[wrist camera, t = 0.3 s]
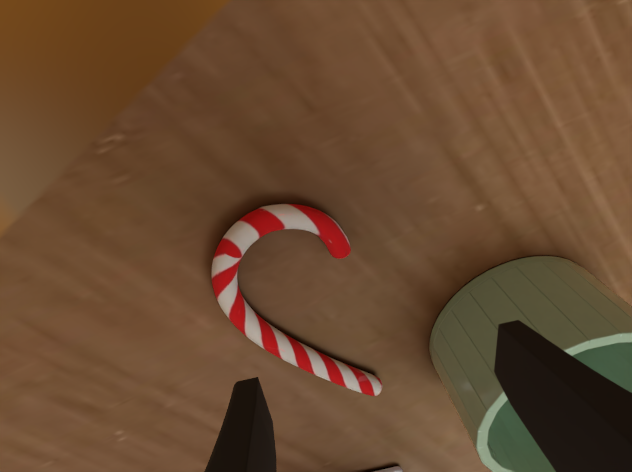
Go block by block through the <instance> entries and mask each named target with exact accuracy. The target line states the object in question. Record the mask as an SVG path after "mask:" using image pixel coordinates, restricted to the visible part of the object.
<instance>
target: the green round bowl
mask: <svg viewBox="0 0 632 472" xmlns="http://www.w3.org/2000/svg"><path fill="white" fill-rule="evenodd" d="M515 320H519V321H521V322H522V323H524V324H525V325H527V326H528V327H530V328H531V329H533V330H534V331H536V332H537V333H539V334H540V335H542V336H543V337H544V338H546V339H547V340H549V341H550V342H552V343H553V344H555V345H556V346H558V347H559V348H561V349H562V350H564V351H565V352H567V353H568V354H570V355H571V356H573V357H574V358H576V359H577V360H579V361H580V362H582V363H584V364H585V365H587V366H588V367H590V368H591V369H593V370H594V371H596V372H598V373H599V374H601V375H603V376H604V377H606V378H607V379H609V380H611V381H612V382H614V383H616V384H617V385H619V386H621V387H623V388H624V389H626V390H628V391H629V392H631V393H632V306H630V305H629V304H628V303H627V302H625V301H624V300H623V299H622V298H621V297H619V296H618V295H617V294H616V293H614V292H613V291H612V290H611V289H609V288H608V287H607V286H606V285H604V284H603V283H602V282H601V281H599V280H598V279H597V278H596V277H594V276H593V275H592V274H591V273H589V272H588V271H587V270H586V269H584V268H583V267H581V266H580V265H578V264H577V263H575V262H573V261H570V260H568V259H564V258H560V257H553V256H533V257H526V258H521V259H517V260H513V261H510V262H507V263H504V264H502V265H499V266H497V267H495V268H492V269H490V270H488V271H486V272H485V273H483V274H481V275H480V276H478V277H476V278H475V279H473V280H472V281H471V282H469V283H468V284H467V285H465V286H464V287H463V288H462V289H461V290H460V291H458V292H457V293H456V294H455V295H454V296H453V297H452V299H451V300H450V301H449V302H448V303H447V304H446V306H445V307H444V308H443V310H442V311H441V313H440V314H439V316H438V318H437V320H436V322H435V324H434V327H433V329H432V333H431V337H430V345H429V350H430V357H431V360H432V363H433V365H434V367H435V369H436V372H437V374H438V376H439V378H440V380H441V382H442V384H443V386H444V388H445V390H446V392H447V394H448V396H449V398H450V400H451V402H452V404H453V406H454V408H455V410H456V412H457V414H458V416H459V418H460V420H461V422H462V424H463V426H464V428H465V430H466V432H467V434H468V436H469V438H470V440H471V442H472V444H473V446H474V448H475V450H476V452H477V454H478V456H479V458H480V460H481V462H482V463H483V464H484V465H485V466H487V467H488V468H489V469H490V470H491V471H492V472H556V471H555V470H554V468H553V467H552V465H551V464H550V462H549V461H548V459H547V458H546V456H545V455H544V454H543V452H542V451H541V449H540V448H539V446H538V445H537V443H536V442H535V440H534V439H533V437H532V436H531V434H530V433H529V431H528V430H527V428H526V427H525V425H524V424H523V422H522V421H521V419H520V418H519V416H518V415H517V413H516V412H515V410H514V409H513V407H512V406H511V404H510V402H509V400H508V398H507V397H506V395H505V393H504V391H503V389H502V387H501V385H500V383H499V381H498V379H497V377H496V375H495V373H494V366H495V356H496V345H497V335H498V325H499V324H502V323H506V322H511V321H515Z"/></svg>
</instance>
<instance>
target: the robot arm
mask: <svg viewBox="0 0 632 472" xmlns="http://www.w3.org/2000/svg"><path fill="white" fill-rule="evenodd" d="M494 373H495V375H496V377H497V379H498V381H499V383H500V385H501V387H502V389H503V391H504V393H505V395H506V397H507V398H508V400H509V402H510V404H511V406H512V407H513V409H514V410H515V412H516V413H517V415H518V416H519V418H520V419H521V421H522V422H523V424H524V425H525V427H526V428H527V430H528V431H529V433H530V434H531V436H532V437H533V439H534V440H535V442H536V443H537V445H538V446H539V448H540V449H541V451H542V452H543V454H544V455H545V456H546V458H547V459H548V461H549V462H550V464H551V465H552V467H553V468H554V470H555V471H556V472H632V393H631V392H629V391H628V390H626V389H624V388H623V387H621V386H619V385H617V384H616V383H614V382H612V381H611V380H609V379H607V378H606V377H604V376H603V375H601V374H599V373H598V372H596V371H594V370H593V369H591V368H590V367H588V366H587V365H585V364H584V363H582V362H580V361H579V360H577V359H576V358H574V357H573V356H571V355H570V354H568V353H567V352H565V351H564V350H562V349H561V348H559V347H558V346H556V345H555V344H553V343H552V342H550V341H549V340H547V339H546V338H544V337H543V336H542V335H540V334H539V333H537V332H536V331H534V330H533V329H531V328H530V327H528V326H527V325H525V324H524V323H522V322H521V321H519V320H515V321H511V322H506V323H502V324H499V325H498V335H497V345H496V356H495V366H494ZM205 472H276V450H275V440H274V430H273V421H272V418H271V415H270V412H269V409H268V406H267V403H266V400H265V397H264V394H263V391H262V388H261V385H260V382H259V379H258V377H256V378H252V379H247V380H243V381H238V382H236V384H235V385H234V388H233V392H232V396H231V399H230V403H229V406H228V409H227V412H226V416H225V419H224V422H223V425H222V428H221V430H220V433H219V436H218V439H217V441H216V444H215V447H214V449H213V452H212V455H211V457H210V460H209V462H208V465H207V467H206V469H205ZM373 472H403V471H402V469H401V467H399V466H395V467H391V468H386V469H382V470H378V471H373Z"/></svg>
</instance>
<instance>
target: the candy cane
mask: <svg viewBox="0 0 632 472" xmlns="http://www.w3.org/2000/svg"><path fill="white" fill-rule="evenodd" d="M283 229H302V230H306V231H310V232H312V233H314V234H316V235H318V236H319V237H320V238H321V239H322V241H323V242H324V243H325V244H326V246H327V248H328V250H329V252H330V254H331V255H332V256H333V257H335V258H338V259H339V258H345V257H347V256H348V255H349V254H350V251H351V247H350V243H349V241H348V239H347V237H346V235H345V233H344V232H343V230H342V229H341V227H340V226H339V225H338V224H337V223H336V221H335V220H333V219H332V218H331V217H330V216H328V215H327V214H325V213H323V212H321V211H319V210H317V209H314V208H311V207H308V206H304V205H297V204H277V205H269V206H264V207H261V208H259V209H256V210H254V211H252V212H250V213H248V214H247V215H245V216H244V217H242V218H241V219H240V220H238V221H237V222H236V223H235V224H234V225H233V226H232V227H231V228H230V229H229V230H228V231H227V233H226V234H225V235H224V237H223V238H222V240H221V241H220V243H219V245H218V247H217V250H216V252H215V255H214V258H213V264H212V285H213V289H214V293H215V296H216V298H217V300H218V303H219V305H220V306H221V308H222V310H223V312H224V313H225V314H226V316H227V317H228V318H229V320H230V321H231V322H232V323H233V324H234V325H235V326H236V327H237V328H238V329H239V330H240V331H241V332H242V333H243V334H244V335H245V336H247V337H248V338H249V339H250V340H252V341H253V342H254V343H256V344H257V345H259V346H260V347H262V348H263V349H265V350H267V351H268V352H270V353H272V354H274V355H275V356H277V357H279V358H281V359H283V360H285V361H287V362H289V363H291V364H293V365H295V366H297V367H299V368H301V369H303V370H305V371H308V372H310V373H312V374H314V375H316V376H319V377H321V378H323V379H326V380H328V381H331V382H333V383H336V384H338V385H341V386H344V387H346V388H349V389H352V390H355V391H357V392H360V393H363V394H367V395H371V396H376V395H378V394H379V393H380V392H381V390H382V382H381V380H380V379H379V378H378V377H376V376H374V375H372V374H370V373H367V372H365V371H362V370H359V369H357V368H354V367H352V366H349V365H347V364H344V363H342V362H340V361H337V360H335V359H333V358H330V357H328V356H326V355H324V354H322V353H320V352H318V351H316V350H314V349H312V348H310V347H308V346H306V345H304V344H302V343H300V342H298V341H296V340H295V339H293V338H291V337H289V336H287V335H286V334H284V333H282V332H281V331H279V330H277V329H276V328H274V327H273V326H271V325H270V324H269V323H267V322H266V321H265V320H263V319H262V318H261V317H260V316H259V315H258V314H256V313H255V312H254V311H253V310H252V308H251V307H250V306H249V305H248V304H247V302H246V301H245V299H244V298H243V296H242V294H241V292H240V289H239V286H238V281H237V271H238V266H239V263H240V260H241V258H242V256H243V255H244V253H245V252H246V250H247V249H248V248H249V247H250V246H251V245H252V244H253V243H254V242H255V241H256V240H258V239H259V238H260V237H262V236H264V235H265V234H267V233H269V232H272V231H277V230H283Z"/></svg>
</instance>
